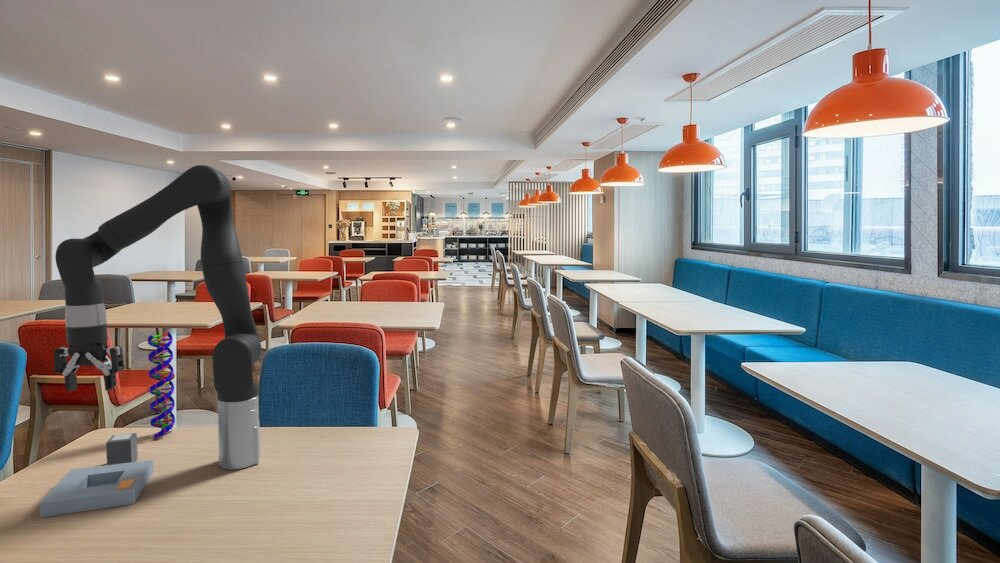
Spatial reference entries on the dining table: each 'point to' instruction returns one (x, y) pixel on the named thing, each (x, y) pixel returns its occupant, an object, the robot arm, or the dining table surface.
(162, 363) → the dna model
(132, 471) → the socket plate
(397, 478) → the dining table surface
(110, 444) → the plug
